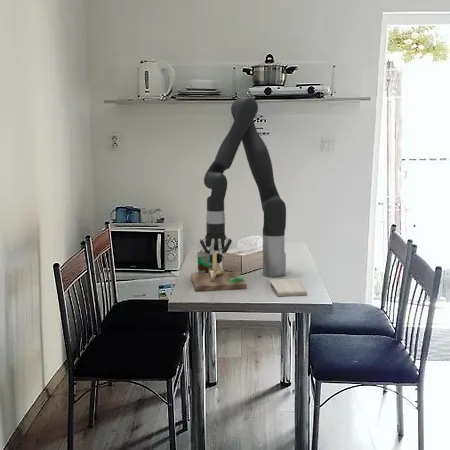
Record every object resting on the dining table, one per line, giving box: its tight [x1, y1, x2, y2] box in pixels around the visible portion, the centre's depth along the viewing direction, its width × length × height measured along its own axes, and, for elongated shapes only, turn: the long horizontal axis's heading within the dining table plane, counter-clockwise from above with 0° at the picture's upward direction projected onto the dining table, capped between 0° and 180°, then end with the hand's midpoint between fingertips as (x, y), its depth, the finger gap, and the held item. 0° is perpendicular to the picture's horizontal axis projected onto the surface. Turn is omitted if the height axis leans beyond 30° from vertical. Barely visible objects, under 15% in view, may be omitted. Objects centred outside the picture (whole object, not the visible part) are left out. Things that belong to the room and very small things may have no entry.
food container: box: [196, 247, 214, 274], centre depth 263 cm, size 12×6×10 cm, turn 168°
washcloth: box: [269, 278, 308, 297], centre depth 237 cm, size 12×18×3 cm, turn 6°
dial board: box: [190, 271, 248, 292], centre depth 246 cm, size 20×19×4 cm
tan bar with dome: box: [209, 251, 224, 281], centre depth 247 cm, size 15×6×9 cm, turn 172°
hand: (215, 262), depth 250 cm, fingers closed on tan bar with dome, 2 cm apart
